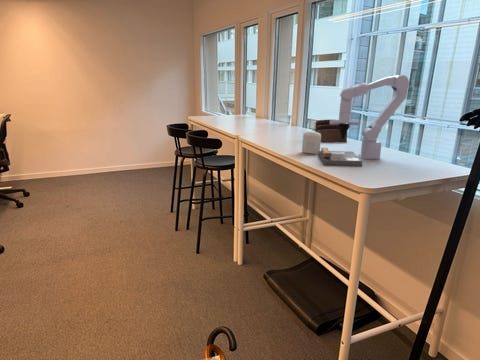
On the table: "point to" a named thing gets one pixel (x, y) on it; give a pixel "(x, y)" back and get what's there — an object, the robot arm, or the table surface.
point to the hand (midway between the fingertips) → (342, 138)
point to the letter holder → (329, 131)
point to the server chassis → (341, 159)
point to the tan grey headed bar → (326, 152)
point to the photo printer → (311, 142)
